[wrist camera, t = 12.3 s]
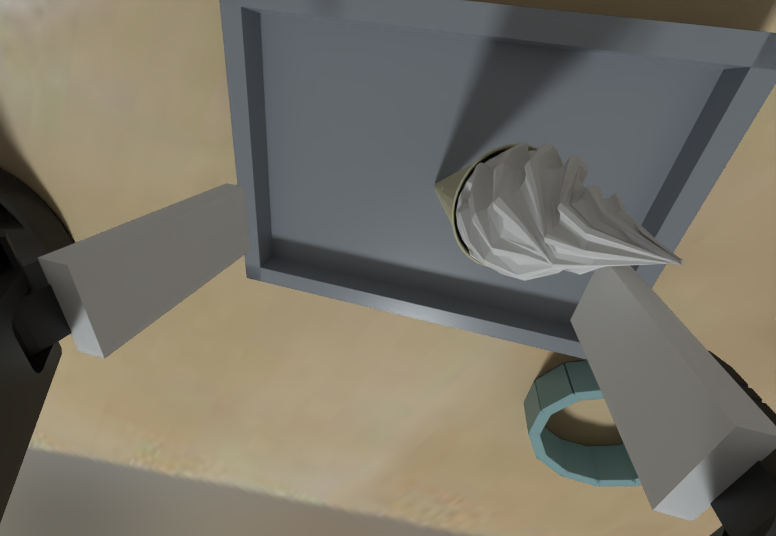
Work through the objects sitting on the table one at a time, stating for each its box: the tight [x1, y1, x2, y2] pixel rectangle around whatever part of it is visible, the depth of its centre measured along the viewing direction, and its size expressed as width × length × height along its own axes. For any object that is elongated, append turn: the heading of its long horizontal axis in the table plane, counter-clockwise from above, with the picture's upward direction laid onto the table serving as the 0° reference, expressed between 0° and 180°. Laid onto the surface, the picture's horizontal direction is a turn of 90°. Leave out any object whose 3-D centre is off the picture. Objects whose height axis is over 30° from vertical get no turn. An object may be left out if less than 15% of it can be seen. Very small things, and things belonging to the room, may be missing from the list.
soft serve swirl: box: [434, 143, 684, 281], centre depth 14 cm, size 5×5×15 cm
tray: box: [219, 0, 776, 360], centre depth 21 cm, size 26×18×3 cm
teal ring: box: [524, 360, 642, 486], centre depth 27 cm, size 11×11×3 cm
